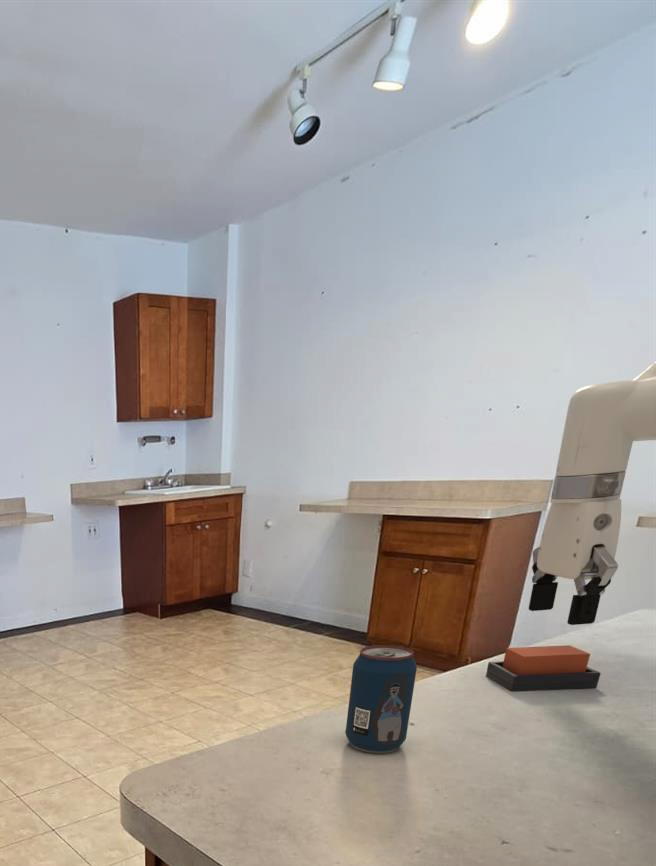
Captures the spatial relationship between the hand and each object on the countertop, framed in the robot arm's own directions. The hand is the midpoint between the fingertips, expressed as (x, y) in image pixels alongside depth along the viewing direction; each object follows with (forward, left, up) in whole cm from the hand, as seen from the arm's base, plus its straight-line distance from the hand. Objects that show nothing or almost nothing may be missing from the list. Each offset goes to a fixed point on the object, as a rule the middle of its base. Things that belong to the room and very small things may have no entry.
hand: (559, 616), depth 92 cm
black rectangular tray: (+1, 0, -10) cm, 10 cm away
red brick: (+1, 0, -9) cm, 9 cm away
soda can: (+32, +22, -10) cm, 40 cm away
